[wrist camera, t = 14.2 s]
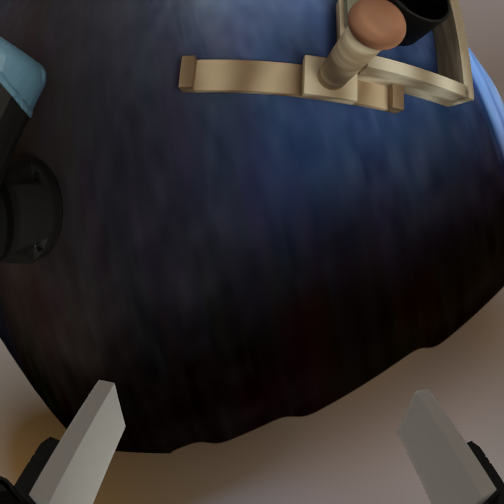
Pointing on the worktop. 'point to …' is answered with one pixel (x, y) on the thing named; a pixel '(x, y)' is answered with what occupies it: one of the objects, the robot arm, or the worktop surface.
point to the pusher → (352, 49)
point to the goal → (425, 82)
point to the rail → (273, 81)
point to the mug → (421, 17)
